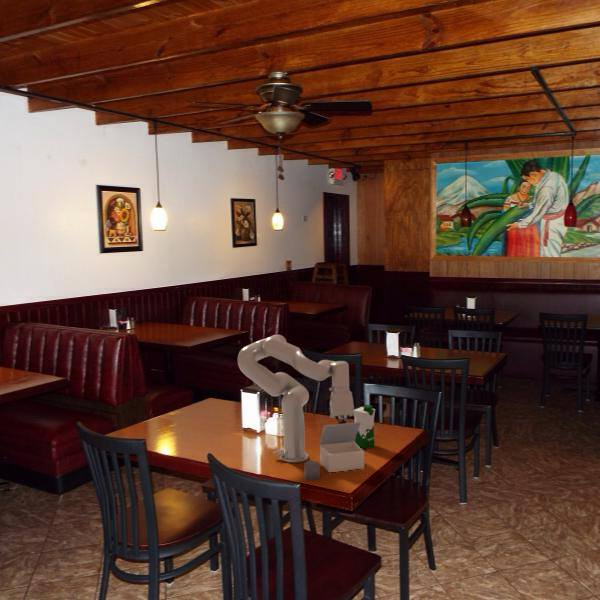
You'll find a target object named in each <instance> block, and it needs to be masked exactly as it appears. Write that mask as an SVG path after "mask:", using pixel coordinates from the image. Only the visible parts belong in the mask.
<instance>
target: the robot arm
mask: <svg viewBox="0 0 600 600" xmlns="http://www.w3.org/2000/svg"><path fill="white" fill-rule="evenodd" d="M238 352H239V353H238V355H237V365H238V368H239V370H240V371H241V373H243V375H245V377H247V378H248V379H250V380H251V381H252V382H253V383H255V384H256V385H257V386H258V387H260V388H261V389H262V390H263V391H265V392H266V393H267V394H269V395H270V396H271V397H274V398H275V397H279V396H280V395H281V396H282V395H283V396H282V398H281V404H280V405H281V409H282V422H283V425H282V426H283V447H282V449H280V450H278V449H277V450H273V454H274V456H277V457H280V459H281V460H282V461H283V462H287V463H293V464H294V463H302V462H306V461H308V459H309V454H308V453H307V452H306V448H305V445H306V443H305V442H306V441H305V439H306V438H305V415H304V410H303V409H304V408H303V407H304V406H305V405H306V404H307V403H308V401H309V399H310V394H309V391H308V389H307V388H306V387H305V386H304V385H303V384H301V383H300V382H298V381H297V380H296V379H294V378H293V377H292V376H290V375H289V374H288V373H286V372H283V371H279V372H276V373H274V372H272V371H270V370H269V369H268V368H267V367H266V366H264V365H262V364H260V363H258V362H259V361H260V360H262V359H264V358H267V357H273V358H275V359H277V360H279V361H282V362H284V363H285V364H288V365H290V366H292V367H293V369H295V370H296V371H297V372H298V373H300V374H301V375H303V376H305V377H307V378H309V379H312V380H315V381H318V382H321V381H324V380H326V379H327V378H329V377H331V387H329V388H328V390H329V391H330V398H329V414H330V415H329V417H330V418H331V419H336V421H337V422H338V423H337V424H344V423H347V420H348V419H349V418H350V417H354V410H355V406H354V398H353V393H352V391H350V373H349V371H350V369H349V368H350V367H349V366H350V365H349V363H348V362H347V361H345V360H337V361H334V360H329V359H322V360H320V361H318V362H316V361H313V360H311V359H310V358H308V357H306V356H305V355H304V354H303V352H302V350H301V348H300V347H299V346H296V345H293V344H291V343H288V342H287V339H286V337H284V335H281V334H273V335H271V336H269V337H266V338H263V339H260V340H258V341H255V342H253V343H250V344H248V345H246V346H244V347H243V348H241V349H240V350H239V351H238Z"/></svg>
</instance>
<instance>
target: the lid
mask: <svg viewBox="0 0 600 600" xmlns="http://www.w3.org/2000/svg"><path fill="white" fill-rule="evenodd" d="M360 424H361V423H360V422H355V421H354V422H346V423H344V424H338V423H333V424H325V425H323V429H322V432H321V436H320V438H319V444H318V445H319V446H320V445H321V444H330V443H340V442H350V441H354V442H355V438H356V435H357V432H358V429H359V427H360Z"/></svg>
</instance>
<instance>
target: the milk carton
mask: <svg viewBox="0 0 600 600" xmlns="http://www.w3.org/2000/svg"><path fill="white" fill-rule="evenodd" d="M375 413H376V409H375V408H373V406H372V405H370V404H365V405H363V406H360V407H358V408H354V413H353V414H354V415H353V417H354V422H360V423H361V424H360V427H359V429H358V432H357V435H356V438H355V440H354V442H355V443H356V444H357V445H358V446H359V447H361V449H363V448H366V449H365V450H368V449H370V448H372V447H374V446H376V445H375V444H376V443H375ZM373 445H374V446H373ZM371 446H372V447H371ZM369 447H370V448H369ZM367 448H368V449H367Z"/></svg>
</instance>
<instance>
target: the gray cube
mask: <svg viewBox="0 0 600 600" xmlns="http://www.w3.org/2000/svg"><path fill="white" fill-rule="evenodd" d="M303 465H304V466H303V468H304V470H303V471H304V479H305V480H308V481H317V480H319V479H320V475H321V474H320V472H321V471H320V467H321V466H320V461H317V460H306V461H304V463H303ZM316 479H317V480H316Z"/></svg>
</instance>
